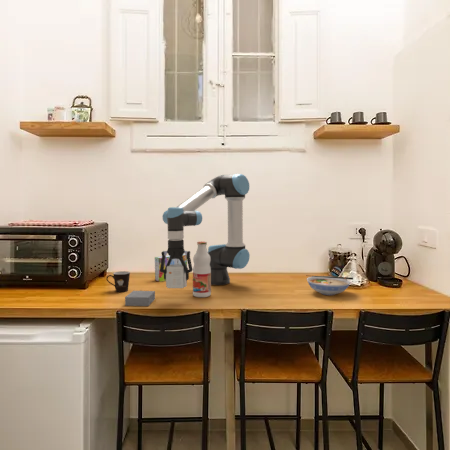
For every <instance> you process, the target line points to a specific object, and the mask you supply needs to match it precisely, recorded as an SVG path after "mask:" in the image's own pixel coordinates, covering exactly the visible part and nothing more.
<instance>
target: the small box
mask: <svg viewBox="0 0 450 450" xmlns="http://www.w3.org/2000/svg"><path fill="white" fill-rule="evenodd" d="M184 273H185V270H184V266H182V265H169V266H167V287H166V288H167V289H184V288H185V287H184Z"/></svg>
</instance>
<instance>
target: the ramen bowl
mask: <svg viewBox="0 0 450 450" xmlns="http://www.w3.org/2000/svg"><path fill="white" fill-rule="evenodd" d="M351 280H354V277H350V276H348V277H347V276H331V275H329V276H328V275H312V276H307V278H306V281H307V283H308V285H309V286H310V288H311V289H312V290H313V291H316V292H317V293H319V294H321V295H322V296H323V295H324V296H335V295H337V294H341V293H343V292H344V291H345V290H347V289H348V288H349V287H350V285H351V283H352V282H351Z"/></svg>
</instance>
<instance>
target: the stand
mask: <svg viewBox="0 0 450 450" xmlns="http://www.w3.org/2000/svg"><path fill="white" fill-rule="evenodd" d="M124 298H125V299H124V305H125V306H128V307H132V306H135V307H149V306H150V305H151V304H152V303H153V302H154V301H155V300H156V291H155V290H132V291H131V292H130V293H128V294H127V295H126V296H125V297H124Z"/></svg>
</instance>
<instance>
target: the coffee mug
mask: <svg viewBox="0 0 450 450" xmlns="http://www.w3.org/2000/svg"><path fill="white" fill-rule="evenodd" d="M112 274H113V275H112ZM112 274H109V275H108V276H106V281H107V282H108V283H109V284H110V285H111V286H113V287H115V289H114V290H115V293H127V292H128V291H129V283H130V274H131V272H130V271H125V270H124V271H121V270H120V271H119V270H118V271H115V272H113V273H112ZM109 277H111V278H112V279H113V280H114V281H113V282H114V283H112V282H111V281H109V279H108V278H109Z"/></svg>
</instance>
